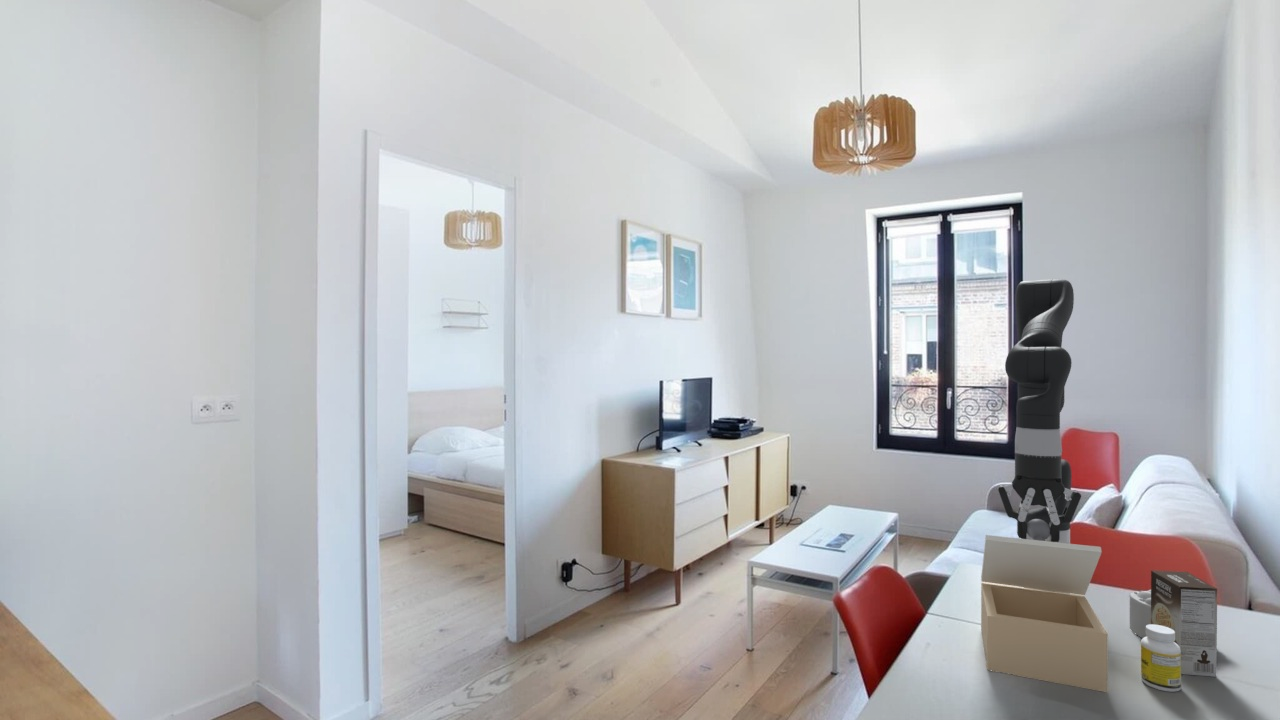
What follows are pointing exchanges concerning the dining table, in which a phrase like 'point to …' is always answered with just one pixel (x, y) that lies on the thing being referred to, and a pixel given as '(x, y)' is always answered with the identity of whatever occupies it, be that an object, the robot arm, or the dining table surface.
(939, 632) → the dining table surface
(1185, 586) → the coffee box
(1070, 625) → the carton
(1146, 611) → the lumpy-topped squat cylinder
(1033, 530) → the lid
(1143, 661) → the supplement bottle
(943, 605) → the dining table surface
